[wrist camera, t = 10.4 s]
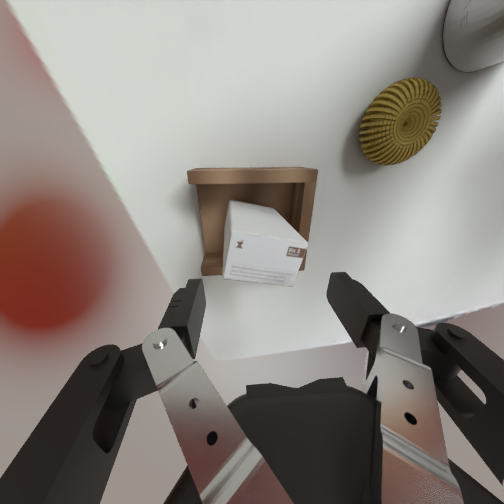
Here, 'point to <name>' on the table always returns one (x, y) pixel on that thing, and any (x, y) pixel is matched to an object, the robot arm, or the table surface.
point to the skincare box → (260, 245)
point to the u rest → (251, 201)
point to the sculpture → (400, 121)
